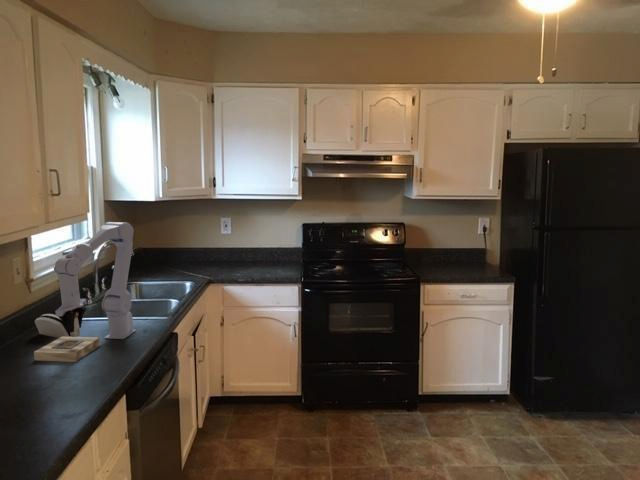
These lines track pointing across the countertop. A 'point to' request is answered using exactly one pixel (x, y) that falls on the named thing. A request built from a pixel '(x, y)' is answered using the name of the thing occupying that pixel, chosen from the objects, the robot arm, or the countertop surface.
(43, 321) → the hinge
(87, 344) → the block
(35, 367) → the countertop surface
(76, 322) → the pin
